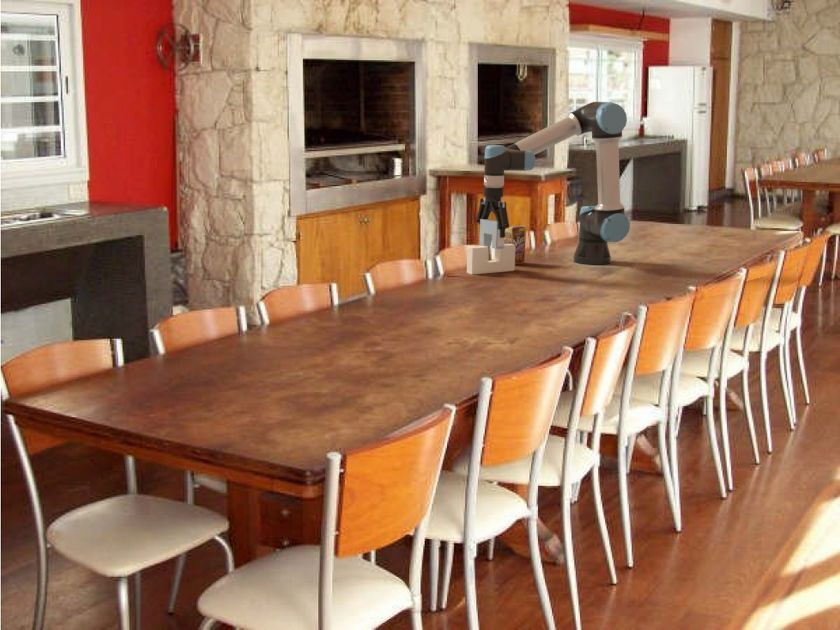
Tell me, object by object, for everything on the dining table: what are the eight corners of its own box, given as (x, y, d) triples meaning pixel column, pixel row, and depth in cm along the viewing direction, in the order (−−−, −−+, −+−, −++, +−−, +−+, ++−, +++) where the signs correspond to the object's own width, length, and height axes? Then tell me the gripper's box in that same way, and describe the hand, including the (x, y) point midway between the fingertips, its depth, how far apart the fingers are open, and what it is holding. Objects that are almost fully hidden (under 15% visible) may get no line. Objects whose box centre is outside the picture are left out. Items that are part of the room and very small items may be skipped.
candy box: (510, 265, 433) (512, 227, 430) (502, 264, 436) (503, 226, 433) (525, 263, 440) (526, 225, 436) (517, 262, 443) (518, 224, 439)
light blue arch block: (479, 245, 421) (480, 219, 419) (486, 244, 422) (487, 218, 420) (496, 249, 412) (497, 222, 409) (503, 248, 413) (504, 222, 411)
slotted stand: (509, 269, 426) (510, 243, 424) (514, 270, 423) (515, 244, 421) (466, 272, 415) (467, 246, 413) (471, 274, 413) (472, 248, 410)
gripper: (468, 184, 420) (466, 240, 425) (503, 189, 401) (501, 248, 405) (484, 183, 424) (482, 239, 429) (520, 189, 404) (517, 247, 409)
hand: (491, 244), depth 417 cm, fingers closed on light blue arch block, 11 cm apart
